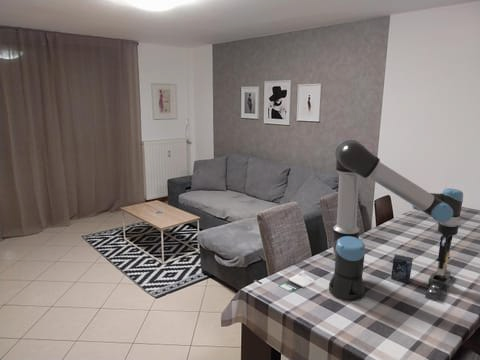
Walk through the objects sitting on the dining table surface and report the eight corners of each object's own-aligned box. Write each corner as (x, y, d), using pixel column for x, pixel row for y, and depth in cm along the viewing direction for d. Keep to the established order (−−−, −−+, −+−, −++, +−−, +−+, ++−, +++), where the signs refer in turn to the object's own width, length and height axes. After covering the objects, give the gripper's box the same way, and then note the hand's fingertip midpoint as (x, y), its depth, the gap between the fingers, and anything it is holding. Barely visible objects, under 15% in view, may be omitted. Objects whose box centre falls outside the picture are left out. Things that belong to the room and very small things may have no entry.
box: (390, 278, 163) (393, 258, 161) (392, 273, 168) (394, 253, 166) (409, 283, 160) (412, 262, 157) (410, 278, 164) (412, 257, 162)
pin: (444, 279, 154) (448, 254, 152) (435, 276, 157) (439, 251, 154) (446, 276, 157) (450, 251, 154) (437, 273, 159) (441, 249, 157)
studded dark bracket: (440, 302, 144) (441, 295, 143) (420, 296, 149) (421, 288, 148) (454, 277, 166) (455, 270, 165) (437, 272, 170) (438, 266, 170)
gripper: (454, 231, 143) (446, 282, 148) (462, 221, 155) (454, 269, 160) (434, 226, 148) (427, 276, 153) (443, 217, 160) (436, 264, 165)
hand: (441, 273), depth 157 cm, fingers closed on pin, 3 cm apart
